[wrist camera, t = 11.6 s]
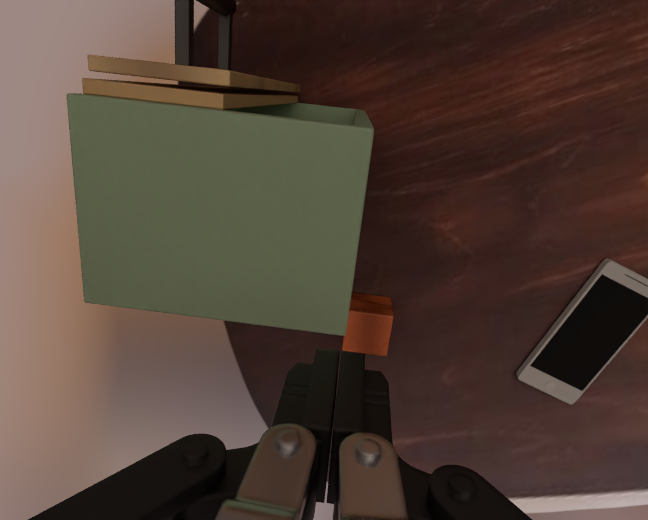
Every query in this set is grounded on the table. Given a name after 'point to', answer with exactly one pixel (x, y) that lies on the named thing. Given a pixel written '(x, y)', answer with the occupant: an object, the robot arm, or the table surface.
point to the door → (183, 67)
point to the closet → (218, 202)
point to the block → (368, 324)
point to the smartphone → (588, 333)
